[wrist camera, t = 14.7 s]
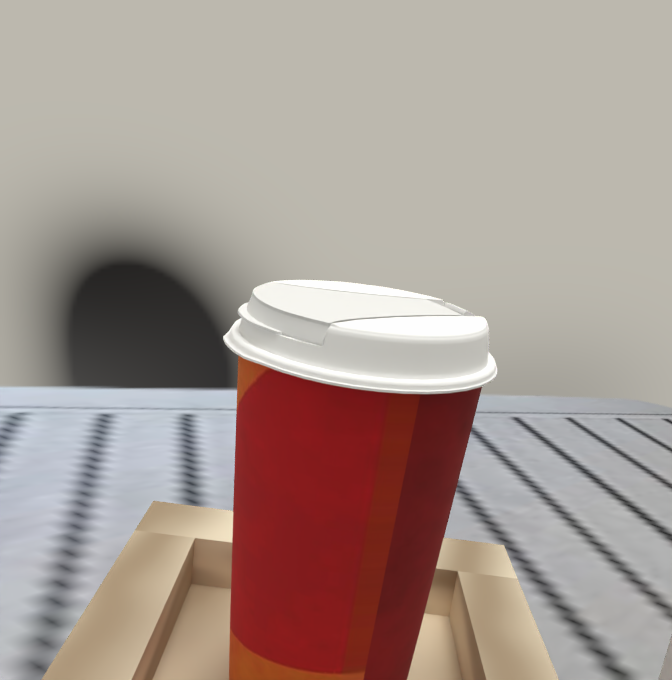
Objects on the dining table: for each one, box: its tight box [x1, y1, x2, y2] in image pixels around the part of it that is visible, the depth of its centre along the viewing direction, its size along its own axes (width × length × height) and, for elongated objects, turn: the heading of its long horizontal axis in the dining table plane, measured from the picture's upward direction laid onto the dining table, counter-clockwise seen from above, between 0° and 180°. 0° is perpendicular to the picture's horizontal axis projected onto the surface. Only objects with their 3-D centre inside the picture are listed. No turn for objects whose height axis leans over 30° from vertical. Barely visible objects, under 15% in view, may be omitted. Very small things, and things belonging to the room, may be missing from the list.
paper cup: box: [223, 280, 498, 680], centre depth 20 cm, size 8×8×14 cm
